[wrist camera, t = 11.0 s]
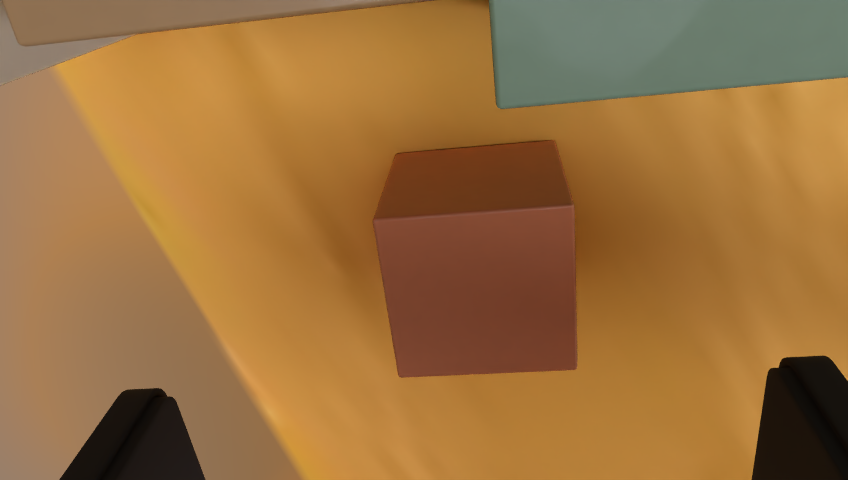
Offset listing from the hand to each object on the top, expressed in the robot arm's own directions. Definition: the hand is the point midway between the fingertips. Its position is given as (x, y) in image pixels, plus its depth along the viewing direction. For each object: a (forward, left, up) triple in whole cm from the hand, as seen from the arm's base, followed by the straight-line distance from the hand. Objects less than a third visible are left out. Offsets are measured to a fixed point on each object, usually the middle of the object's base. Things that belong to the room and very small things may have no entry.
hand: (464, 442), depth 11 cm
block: (0, 0, -10) cm, 10 cm away
